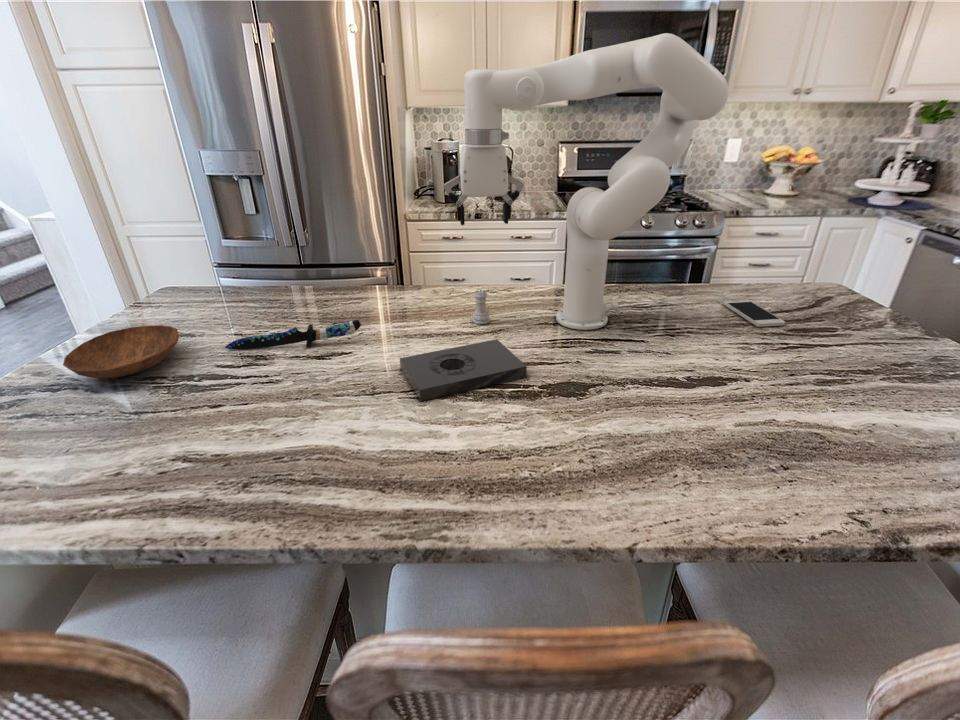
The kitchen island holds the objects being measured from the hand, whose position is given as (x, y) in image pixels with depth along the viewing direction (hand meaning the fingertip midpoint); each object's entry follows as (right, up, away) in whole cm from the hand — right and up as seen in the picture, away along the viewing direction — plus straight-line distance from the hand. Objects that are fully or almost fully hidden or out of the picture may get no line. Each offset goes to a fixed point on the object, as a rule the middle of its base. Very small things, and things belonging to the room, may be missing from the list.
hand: (484, 223), depth 110 cm
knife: (-43, -27, +4) cm, 51 cm away
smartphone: (+68, -19, +16) cm, 72 cm away
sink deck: (-5, -33, -9) cm, 34 cm away
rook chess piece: (-1, -21, +15) cm, 25 cm away
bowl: (-75, -32, -4) cm, 82 cm away
